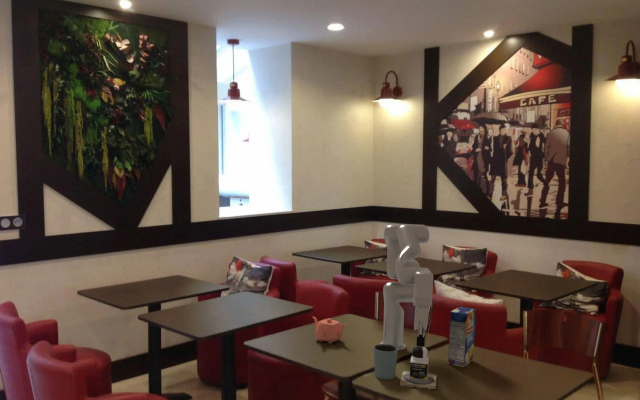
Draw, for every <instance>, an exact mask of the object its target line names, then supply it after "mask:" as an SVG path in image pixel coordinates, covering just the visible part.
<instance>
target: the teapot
mask: <svg viewBox="0 0 640 400" xmlns="http://www.w3.org/2000/svg"><path fill="white" fill-rule="evenodd" d="M312 319H314V329H315V333H314V334H315V338H316V339H317V340H318V341H319V342H327V343H328V344H333V343H334V342H338V341H339V340H340V339H341V338H342V336H343V333H344V329H345V328H344V327H345V326H346V325H347V323H342V324H341V322H340V321H338V320H336V319H332V318H324V319H322V320H318V318H317V317H315V316H312Z"/></svg>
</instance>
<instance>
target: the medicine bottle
mask: <svg viewBox="0 0 640 400" xmlns="http://www.w3.org/2000/svg"><path fill="white" fill-rule="evenodd" d="M409 363H410V364H409V372H410V377H409V378H410V379H418V380H427V378H428V374H429V357H428V349H427V348H426V347H425V346H424V347H420V346H414V347H413V348H412V355H411V356H410V362H409Z"/></svg>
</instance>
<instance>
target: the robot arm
mask: <svg viewBox="0 0 640 400" xmlns="http://www.w3.org/2000/svg"><path fill="white" fill-rule="evenodd" d="M383 238H384V243H385V246H386V249H387V250H386V252H387V255H386V274H387V277H388V278H389V279H392V280H397V281H390V282H386V283H385V284H384V285H383V288H382V289H383V290H382V292H383V293H382V294H383V303H384V305H383V306H384V307H383V327H382V328H383V329H382V331H383V332H382V333H383V334H382V341H380V342H379V344H389V345H393V346H396V347H397V348H398V351H404V350H405V349H406V347H407V346H406V344H405V342H403V341H404V340H403V339H404V321H405V320H404V319H405V317H404V316H405V310H404V308H403V307H402V306H401V304H400V303H412V305H413V306H414V307H415V309H414V323H413V330H414V331H417V333H416V334H417V335H416V347H424V348H425V345H426V343H425V342H426V336H425V333H426V331H427V327H428V322H429V308H431V307H433V293H434V292H433V291H434V290H433V289H434V274H433V272H431V270H430V268H428V267H424V266H423V267H421V266H420V264H419V262H418V261H417V260H416V259H417V258H418V257H419V256H420V255H421V252H422V249H421V245H420V244H427V243H428V242H429V240H430V230H429V228H428V226H426V225H425V224H413V223H411V224H406V223H405V224H388V225H386V226H385V227H384V231H383Z"/></svg>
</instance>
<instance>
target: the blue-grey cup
mask: <svg viewBox="0 0 640 400" xmlns="http://www.w3.org/2000/svg"><path fill="white" fill-rule="evenodd" d="M398 352H399V350H398V348H397V347H396V346H393V345H389V344H380V343H379V344H376V345H374V346H373V358H374V363H373V364H374V376H375V377H376V378H377V379H380V380H388V381H389V380H393V379H395V377H396V373H397V371H396V370H397V361H398Z"/></svg>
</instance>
